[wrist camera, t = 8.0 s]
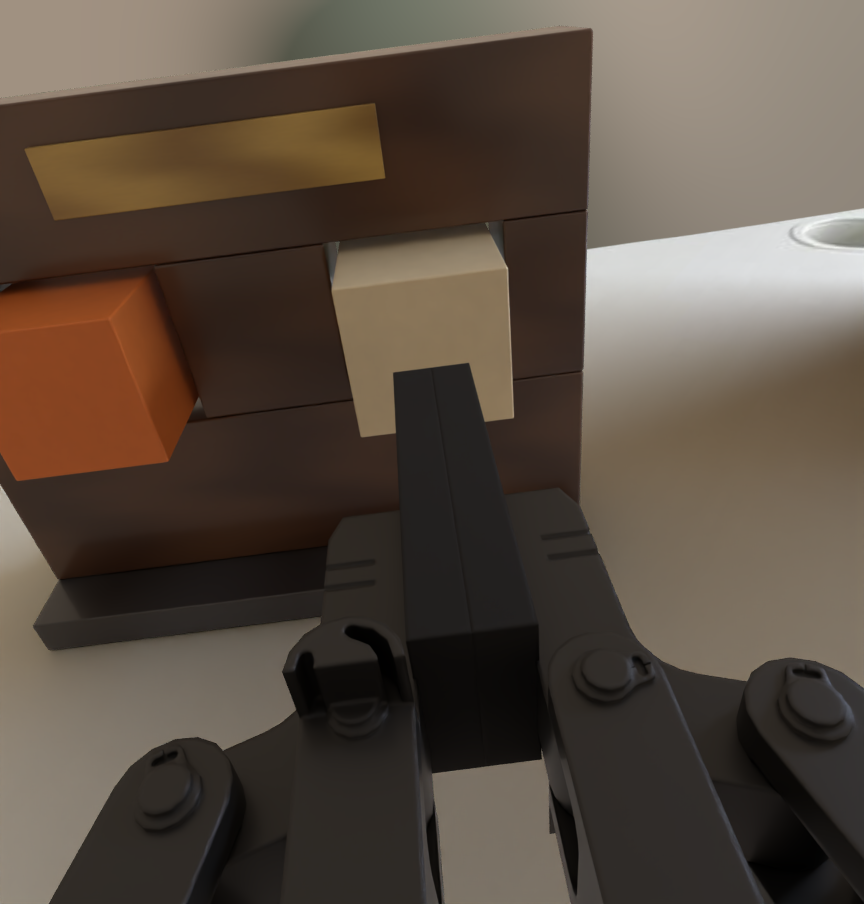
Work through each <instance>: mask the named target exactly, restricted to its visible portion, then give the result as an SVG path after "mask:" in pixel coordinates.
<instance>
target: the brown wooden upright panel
mask: <svg viewBox="0 0 864 904" xmlns="http://www.w3.org/2000/svg"><path fill="white" fill-rule="evenodd" d="M592 49H593V30H592V29H591V28H582V27H569V26H555V27H547V28H540V29H532V30H524V31H516V32H509V33H502V34H493V35H485V36H478V37H471V38H462V39H454V40H446V41H439V42H431V43H424V44H415V45H408V46H400V47H392V48H384V49H377V50H369V51H361V52H354V53H346V54H338V55H330V56H322V57H315V58H307V59H299V60H292V61H284V62H276V63H268V64H261V65H253V66H245V67H237V68H230V69H222V70H214V71H206V72H198V73H191V74H184V75H175V76H167V77H160V78H153V79H145V80H137V81H129V82H121V83H114V84H105V85H98V86H90V87H83V88H74V89H67V90H59V91H52V92H43V93H36V94H28V95H20V96H13V97H5V98H0V292H1V291H3V290H4V289H5V288H7V287H8V286H10V285H11V284H12V283H17V282H25V281H33V280H41V279H49V278H56V277H64V276H72V275H80V274H88V273H95V272H103V271H111V270H119V269H127V268H134V267H142V266H150V265H154V271H155V273H156V276H157V279H158V282H159V285H160V287H161V290H162V293H163V296H164V299H165V302H166V304H167V307H168V310H169V313H170V316H171V319H172V321H173V324H174V327H175V330H176V333H177V336H178V338H179V341H180V344H181V347H182V350H183V352H184V355H185V358H186V361H187V364H188V367H189V369H190V372H191V375H192V378H193V381H194V384H195V386H196V389H197V392H198V395H199V397H198V400H197V402H196V404H195V406H194V408H193V410H192V412H191V415H190V417H189V419H188V421H187V423H186V425H185V427H184V430H183V432H182V434H181V436H180V438H179V440H178V442H177V444H176V447H175V449H174V451H173V453H172V455H171V457H170V459H169V461H168V462H164V463H156V464H148V465H140V466H132V467H124V468H116V469H109V470H101V471H93V472H85V473H77V474H69V475H61V476H53V477H46V478H38V479H30V480H22V481H17V480H16V479H15V477H14V476H13V474H12V472H11V471H10V469H9V467H8V465H7V464H6V462H5V460H4V459H3V457H2V455H1V453H0V485H1V486H2V488H3V490H4V491H5V493H6V495H7V496H8V498H9V500H10V501H11V503H12V504H13V506H14V508H15V509H16V511H17V513H18V514H19V516H20V518H21V519H22V521H23V523H24V524H25V526H26V528H27V529H28V531H29V533H30V534H31V536H32V538H33V539H34V541H35V543H36V544H37V546H38V547H39V549H40V551H41V552H42V554H43V556H44V557H45V559H46V561H47V562H48V564H49V566H50V567H51V569H52V571H53V572H54V574H55V576H56V577H57V579H59V581H58V583H57V584H56V586H55V588H54V590H53V591H52V593H51V595H50V597H49V599H48V600H47V602H46V604H45V606H44V607H43V609H42V611H41V613H40V615H39V616H38V618H37V620H36V622H35V623H34V625H33V628H34V629H35V631H36V632H37V634H38V635H39V637H40V638H41V640H42V641H43V643H44V644H45V646H46V647H47V648H48V650H55V649H63V648H71V647H79V646H87V645H95V644H103V643H111V642H119V641H127V640H134V639H142V638H150V637H158V636H166V635H174V634H182V633H190V632H198V631H206V630H214V629H222V628H230V627H238V626H245V625H253V624H261V623H269V622H277V621H285V620H293V619H301V618H309V617H317V616H322V605H323V594H324V591H325V588H324V583H325V572H326V570H327V568H326V560H327V549H328V540H329V539H330V537H331V535H332V534H333V532H334V531H335V529H336V527H337V526H338V524H339V523H340V521H341V520H342V518H343V517H349V516H357V515H365V514H372V513H380V512H388V511H396V510H400V509H399V488H398V467H397V447H396V433H393V434H385V435H377V436H369V437H361V436H360V431H359V426H358V421H357V416H356V411H355V406H354V401H353V396H352V391H351V386H350V381H349V376H348V371H347V366H346V361H345V356H344V351H343V346H342V341H341V336H340V331H339V326H338V321H337V316H336V311H335V306H334V301H333V296H332V285H333V279H334V273H335V267H336V261H337V255H338V254H337V249H336V244H335V242H338V241H345V240H353V239H361V238H369V237H377V236H384V235H392V234H400V233H408V232H416V231H423V230H431V229H439V228H447V227H455V226H462V225H470V224H478V223H486V222H488V223H489V232H490V234H491V236H492V238H493V240H494V242H495V244H496V246H497V248H498V250H499V252H500V254H501V256H502V258H503V260H504V262H505V264H506V266H507V268H508V283H509V307H510V331H511V355H512V379H513V404H514V418H511V419H503V420H495V421H487V422H485V424H486V428H487V432H488V436H489V439H490V443H491V447H492V451H493V454H494V458H495V462H496V466H497V469H498V473H499V477H500V481H501V484H502V488H503V492H504V494H511V493H519V492H527V491H535V490H542V489H550V488H558V487H559V488H560V489H561V490H562V491H563V492H565V493H566V494H567V495H568V496H569V497H570V498H571V499H572V500H574V501H575V502H576V503H577V504H578V505H579V506H580V472H581V436H582V400H583V371H582V370H583V368H584V333H585V298H586V262H587V226H588V225H587V224H588V223H587V222H588V212H587V210H586V209H587V208H588V192H589V191H588V190H589V157H590V154H589V153H590V122H591V121H590V120H591V119H590V118H591V84H592Z"/></svg>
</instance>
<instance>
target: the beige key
mask: <svg viewBox="0 0 864 904" xmlns="http://www.w3.org/2000/svg"><path fill="white" fill-rule="evenodd" d="M332 296H333V301H334V306H335V311H336V316H337V321H338V326H339V331H340V336H341V341H342V346H343V351H344V356H345V361H346V366H347V371H348V376H349V381H350V386H351V391H352V396H353V401H354V406H355V411H356V416H357V421H358V426H359V431H360V436H361V437H369V436H377V435H385V434H393V433H396V426H395V405H394V384H393V372H400V371H408V370H416V369H424V368H431V367H439V366H447V365H455V364H462V363H469V364H470V368H471V372H472V376H473V379H474V383H475V387H476V391H477V394H478V398H479V402H480V406H481V409H482V413H483V417H484V421H485V422H487V421H495V420H503V419H511V418H514V404H513V379H512V355H511V331H510V307H509V283H508V268H507V266H506V264H505V262H504V260H503V258H502V256H501V254H500V252H499V250H498V248H497V246H496V244H495V242H494V240H493V238H492V236H491V234H490V232H489V230H488V228H487V226H486V224H485V223H478V224H470V225H462V226H455V227H447V228H439V229H431V230H423V231H416V232H408V233H400V234H392V235H384V236H377V237H369V238H361V239H353V240H345V241H340V243H339V249H338V255H337V261H336V267H335V273H334V279H333V285H332Z"/></svg>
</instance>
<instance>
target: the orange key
mask: <svg viewBox="0 0 864 904" xmlns="http://www.w3.org/2000/svg"><path fill="white" fill-rule="evenodd" d="M198 397H199V395H198V392H197V389H196V386H195V384H194V381H193V378H192V375H191V372H190V369H189V367H188V364H187V361H186V358H185V355H184V352H183V350H182V347H181V344H180V341H179V338H178V336H177V333H176V330H175V327H174V324H173V321H172V319H171V316H170V313H169V310H168V307H167V304H166V302H165V299H164V296H163V293H162V290H161V287H160V285H159V282H158V279H157V276H156V273H155V271H154V265H150V266H142V267H134V268H127V269H119V270H111V271H103V272H95V273H88V274H80V275H72V276H64V277H56V278H49V279H41V280H33V281H25V282H17V283H12V284H11V285H10V286H8V287H7V288H5V289H4V290H3V291H1V292H0V453H1V455H2V457H3V459H4V460H5V462H6V464H7V465H8V467H9V469H10V471H11V472H12V474H13V476H14V477H15V479H16V480H17V481H22V480H30V479H38V478H46V477H53V476H61V475H69V474H77V473H85V472H93V471H101V470H109V469H116V468H124V467H132V466H140V465H148V464H156V463H164V462H168V461H169V459H170V457H171V455H172V453H173V451H174V449H175V447H176V444H177V442H178V440H179V438H180V436H181V434H182V432H183V430H184V427H185V425H186V423H187V421H188V419H189V417H190V415H191V412H192V410H193V408H194V406H195V404H196V402H197V400H198Z"/></svg>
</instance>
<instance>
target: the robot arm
mask: <svg viewBox="0 0 864 904" xmlns="http://www.w3.org/2000/svg"><path fill="white" fill-rule="evenodd" d="M393 384H394V405H395V426H396V447H397V467H398V488H399V509H400V510H396V511H388V512H380V513H372V514H365V515H357V516H349V517H343V518H342V520H341V521H340V523H339V524H338V526H337V527H336V529H335V531H334V532H333V534H332V535H331V537H330V539H329V540H328V549H327V560H326V568H327V570H326V572H325V583H324V588H325V591H324V594H323V605H322V616H321V625H319V626H317V627H316V628H314V629H313V630H311V631H310V632H308V633H306V634H305V635H304V636H303V637H302V638H301V639H300V640H299V641H298V643H297V644H296V645H295V646H294V647H293V648H292V650H291V651H290V652H289V655H288V657H287V660H286V663H285V666H284V668H283V671H282V673H283V675H284V678H285V681H286V683H287V686H288V689H289V691H290V694H291V697H292V699H293V702H294V705H295V707H296V711H295V712H294V713H293V714H291V715H290V716H289V717H288V718H287V719H285V720H284V721H283V722H282V723H280V724H279V725H277V726H275V727H273V728H272V729H270V730H268V731H266V732H264V733H262V734H260V735H258V736H255V737H253V738H251V739H248V740H246V741H244V742H242V743H239V744H237V745H235V746H233V747H230V748H228V749H226V750H224V751H222V749H221V748H220V747H219V746H218V745H217V744H216V743H213V742H210V741H207V740H204V739H201V738H199V737H195V738H184V739H175V740H173V741H170V742H168V743H166V744H163V745H161V746H159V747H156V748H154V749H152V750H151V751H149V752H148V753H147V754H146V755H144V756H143V757H142V758H140V759H139V760H138V761H137V762H135V763H134V764H133V765H132V766H130V768H129V769H128V770H127V772H126V773H125V774H124V776H123V777H122V778H121V780H120V781H119V782H118V783H117V785H116V786H115V787H114V789H113V791H112V792H111V794H110V796H109V798H108V799H107V801H106V803H105V805H104V807H103V808H102V810H101V812H100V814H99V815H98V817H97V819H96V821H95V823H94V824H93V826H92V828H91V830H90V831H89V833H88V835H87V837H86V839H85V840H84V842H83V844H82V846H81V847H80V849H79V851H78V853H77V855H76V856H75V858H74V860H73V862H72V863H71V865H70V867H69V869H68V870H67V872H66V874H65V876H64V878H63V879H62V881H61V883H60V885H59V886H58V888H57V890H56V892H55V894H54V895H53V897H52V899H51V901H50V902H49V904H445V901H444V889H443V876H442V864H441V851H440V839H439V826H438V817H437V812H436V807H435V802H434V794H433V781H432V773H439V772H446V771H454V770H462V769H470V768H477V767H485V766H493V765H501V764H509V763H516V762H524V761H532V760H540V759H542V755H541V748H542V752H543V757H544V761H545V766H546V770H547V774H548V779H549V824H550V834H552V833H556V837H557V841H558V846H559V851H560V855H561V860H562V865H563V869H564V874H565V878H566V883H567V888H568V892H569V897H570V902H571V904H864V688H862V687H861V686H860V685H858V684H857V683H856V682H854V681H853V680H852V679H850V678H849V677H847V676H846V675H845V674H843V673H842V672H840V671H838V670H835V669H833V668H830V667H828V666H826V665H823V664H821V663H818V662H816V661H810V660H803V659H796V658H785V659H779V660H773V661H768V662H766V663H765V664H763V665H762V666H760V667H759V668H757V669H756V670H754V671H753V672H752V673H751V675H750V677H749V679H748V681H747V682H746V681H740V680H734V679H727V678H721V677H714V676H708V675H702V674H697V673H693V672H689V671H685V670H681V669H678V668H676V667H674V666H672V665H669V664H667V663H665V662H663V661H661V660H660V659H659V658H657V657H656V656H654V655H653V654H652V652H650V651H649V650H647V649H646V648H645V647H644V646H643V645H642V644H641V643H640V642H639V641H638V640H637V639H636V637H635V635H634V633H633V632H632V630H631V628H630V626H629V624H628V621H627V619H626V617H625V614H624V612H623V609H622V607H621V604H620V602H619V600H618V597H617V595H616V592H615V590H614V588H613V585H612V583H611V580H610V578H609V575H608V573H607V571H606V568H605V566H604V563H603V561H602V558H601V556H600V554H598V550H597V546H596V544H595V542H594V539H593V537H592V534H590V531H589V527H588V525H587V522H586V520H585V517H584V515H583V513H582V510H581V508H580V506H579V505H578V504H577V503H576V502H575V501H574V500H572V499H571V498H570V497H569V496H568V495H567V494H566V493H565V492H563V491H562V490H561V489H560V488H559V487H558V488H550V489H542V490H535V491H527V492H519V493H511V494H504V492H503V488H502V484H501V481H500V477H499V473H498V469H497V466H496V462H495V458H494V454H493V451H492V447H491V443H490V439H489V436H488V432H487V428H486V424H485V421H484V417H483V413H482V409H481V406H480V402H479V398H478V394H477V391H476V387H475V383H474V379H473V376H472V372H471V368H470V364H469V363H462V364H455V365H447V366H439V367H431V368H424V369H416V370H408V371H400V372H393Z"/></svg>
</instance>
